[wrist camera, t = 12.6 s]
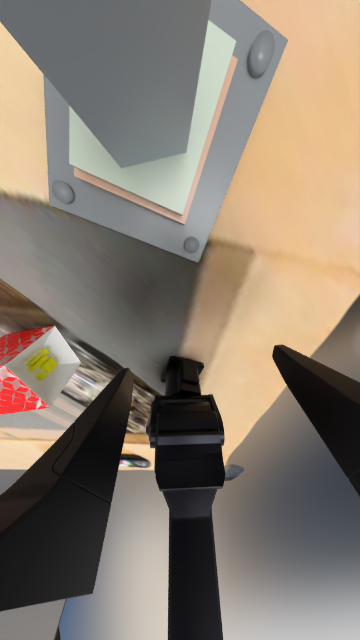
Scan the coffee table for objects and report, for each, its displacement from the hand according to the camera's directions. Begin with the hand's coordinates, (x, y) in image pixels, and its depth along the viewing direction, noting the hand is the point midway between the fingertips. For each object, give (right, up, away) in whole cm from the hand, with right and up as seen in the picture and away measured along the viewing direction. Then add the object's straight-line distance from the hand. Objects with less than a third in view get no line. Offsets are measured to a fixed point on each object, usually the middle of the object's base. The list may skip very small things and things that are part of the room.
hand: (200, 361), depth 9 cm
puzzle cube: (-23, -2, +16) cm, 28 cm away
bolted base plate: (-4, +19, +4) cm, 19 cm away
